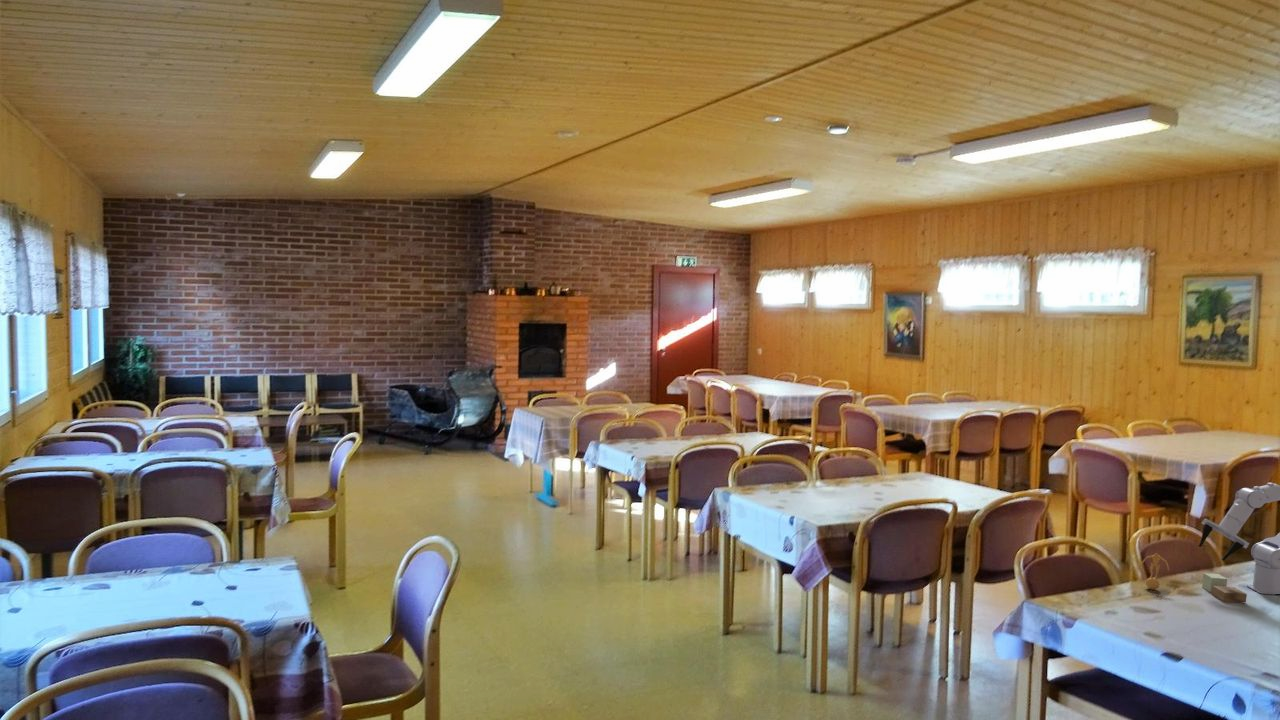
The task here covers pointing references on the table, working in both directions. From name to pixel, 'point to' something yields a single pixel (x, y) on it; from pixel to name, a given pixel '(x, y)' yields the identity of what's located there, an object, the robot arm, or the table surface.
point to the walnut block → (1228, 594)
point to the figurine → (1152, 582)
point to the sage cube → (1213, 581)
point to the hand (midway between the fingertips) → (1211, 553)
